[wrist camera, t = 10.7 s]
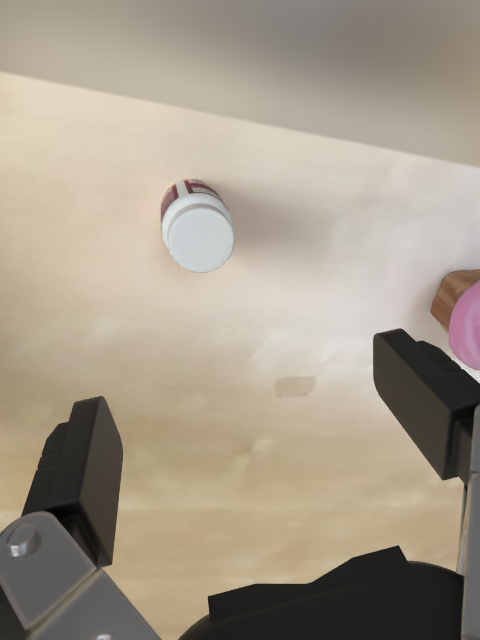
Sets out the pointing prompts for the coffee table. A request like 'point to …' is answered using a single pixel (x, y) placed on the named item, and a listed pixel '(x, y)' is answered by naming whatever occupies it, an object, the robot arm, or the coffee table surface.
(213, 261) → the pill bottle
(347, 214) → the coffee table surface
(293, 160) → the coffee table surface
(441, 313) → the cupcake
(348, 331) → the coffee table surface
